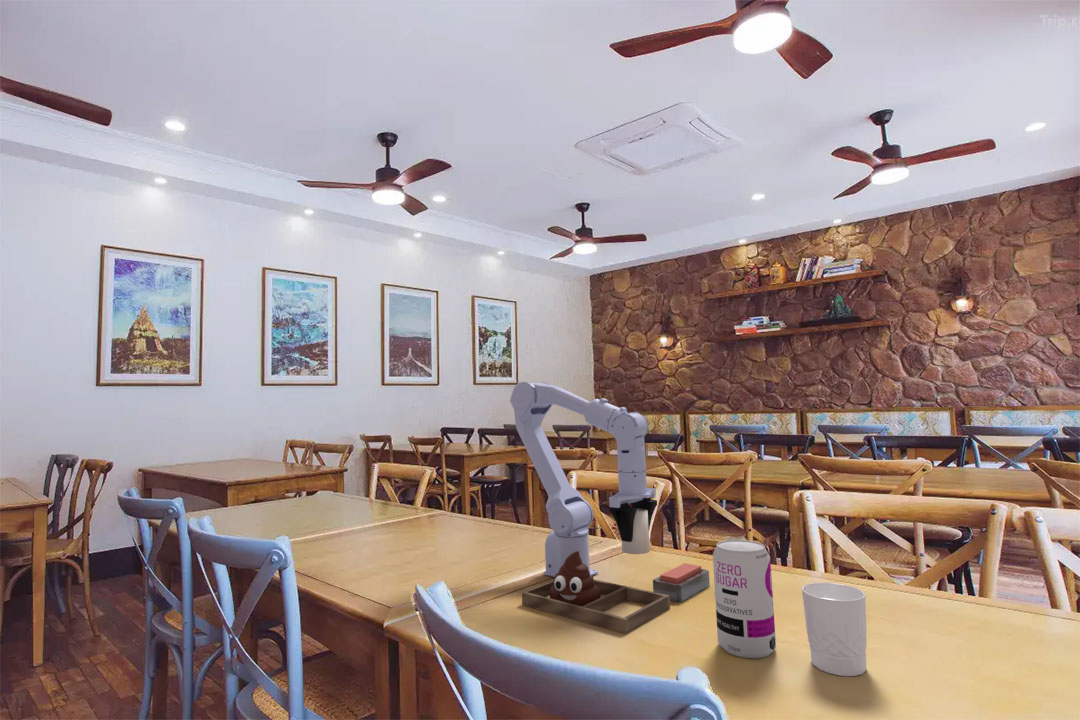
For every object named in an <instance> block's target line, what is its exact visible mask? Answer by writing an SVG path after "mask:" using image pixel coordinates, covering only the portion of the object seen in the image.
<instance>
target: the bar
mask: <svg viewBox="0 0 1080 720" xmlns="http://www.w3.org/2000/svg"><path fill="white" fill-rule="evenodd" d="M701 569H702V566H701V565H698V564H697V565H696V564H692V563H691V564H690V563H683V564H680V565H678V566H676V567H674V568H672V569H670V570H668V571H666V572H664V573H662V574H660V575H659V577H660V581H665V582H670V583H675V584H680V583H682V582H683V581H685V580H687V579H689V578H691V577H693V576H695V575H697V574H699V573H700V572H702V571H701Z"/></svg>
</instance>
